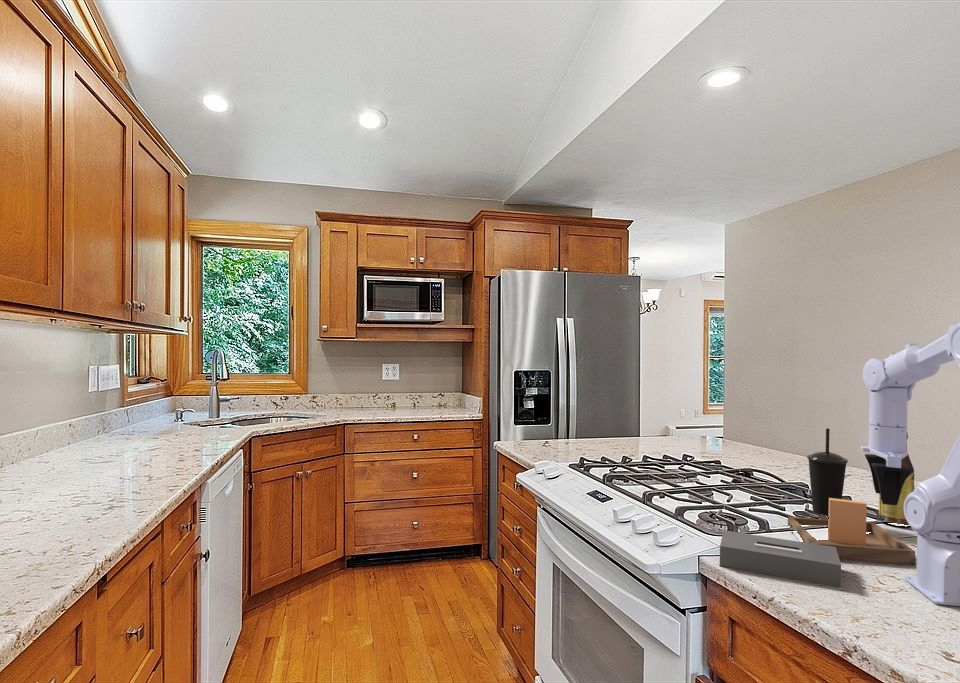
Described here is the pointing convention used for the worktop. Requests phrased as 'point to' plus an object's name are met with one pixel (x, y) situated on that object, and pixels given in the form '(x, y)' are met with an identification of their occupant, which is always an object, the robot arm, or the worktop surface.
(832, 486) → the drinking cup
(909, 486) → the sauce bottle
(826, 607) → the worktop surface
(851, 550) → the tray
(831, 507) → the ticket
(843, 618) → the worktop surface
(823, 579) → the dispenser
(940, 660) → the worktop surface
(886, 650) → the worktop surface
